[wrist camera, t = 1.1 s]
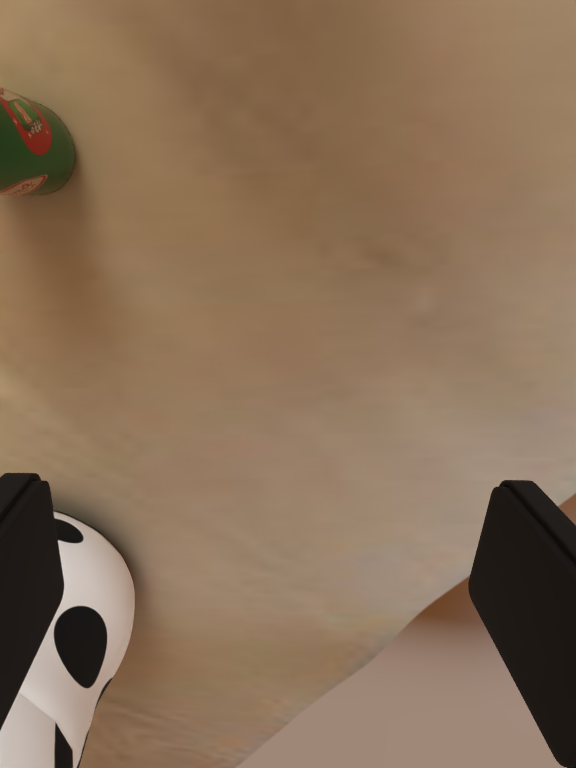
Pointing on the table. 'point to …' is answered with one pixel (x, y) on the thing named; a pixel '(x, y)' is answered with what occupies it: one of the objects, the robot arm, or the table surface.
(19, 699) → the milk container
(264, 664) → the table surface
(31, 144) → the soda can
